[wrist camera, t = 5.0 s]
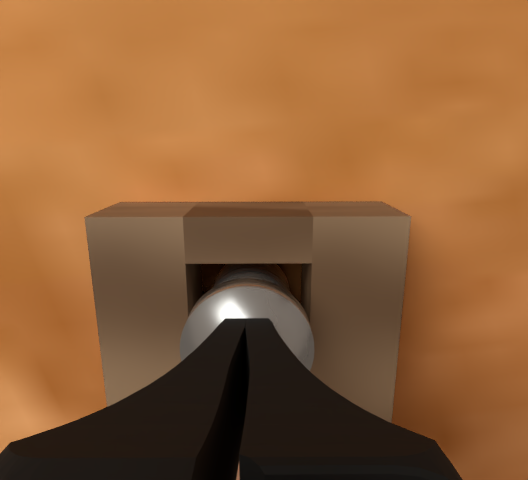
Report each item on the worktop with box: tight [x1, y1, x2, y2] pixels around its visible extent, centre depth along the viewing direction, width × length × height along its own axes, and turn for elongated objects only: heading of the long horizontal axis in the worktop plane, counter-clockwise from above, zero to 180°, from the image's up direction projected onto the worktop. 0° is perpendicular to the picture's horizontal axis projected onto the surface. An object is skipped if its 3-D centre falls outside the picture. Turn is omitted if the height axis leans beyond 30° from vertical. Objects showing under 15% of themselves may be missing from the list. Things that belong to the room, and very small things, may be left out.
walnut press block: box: [85, 202, 411, 423], centre depth 16 cm, size 20×10×3 cm, turn 0°
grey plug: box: [180, 263, 314, 371], centre depth 13 cm, size 4×4×4 cm
